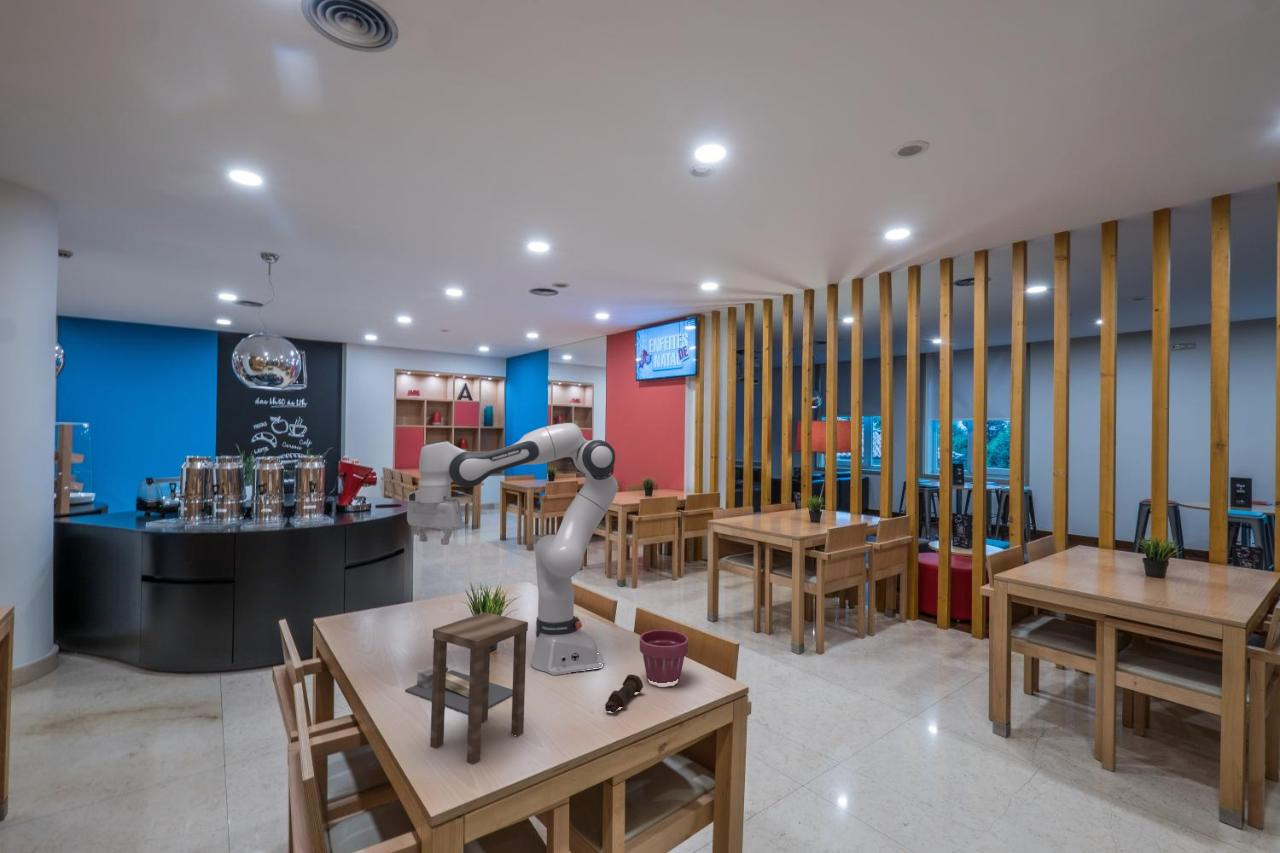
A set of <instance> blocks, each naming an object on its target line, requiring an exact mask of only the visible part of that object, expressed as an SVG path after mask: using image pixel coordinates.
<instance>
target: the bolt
mask: <svg viewBox="0 0 1280 853" xmlns="http://www.w3.org/2000/svg"><path fill="white" fill-rule="evenodd" d="M643 684H644V683H643V681H642V679H641V677H639V676H638V675H635V674H628V675H627V676H626V677H625V680H624V681H623V682H622V687H621V688H619V689H618V690H615V689H614V690H613V691H612V692H611V694H610V695H609V696H608V699H607V701H606V703H605V704H604V708H605V712H607V711H611V712H615V711H616V710H617V709H618V708H619V707H623V706H624V705H625V706H626V704H627V703H628V700H629V699H630V698H631V696H633V695H632V694H634V693H635V692H640V693H641V691H642V690H643V688H644V685H643ZM625 706H624V707H625ZM617 711H618V710H617ZM617 711H616V712H617ZM616 712H615V713H616Z"/></svg>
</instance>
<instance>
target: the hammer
mask: <svg viewBox="0 0 1280 853" xmlns="http://www.w3.org/2000/svg"><path fill="white" fill-rule="evenodd" d="M448 671H449V668H448V667H447V666H446V686H445V687H446V688H448V689H450V690H452V691H455V692H457V693H459V694H461V695H464V696H466V697H468V698H469V682H468V681H466V680H463V679H461V678H459V677H456V676H454V675H452V674H449V673H448ZM416 677H417V678H416V685H419V686H421V687H423V688H425V689H428V688H430V687H432V681H433V665H432V666H429V667H427V668H424V669H421V670H418V671H417V676H416Z"/></svg>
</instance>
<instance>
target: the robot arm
mask: <svg viewBox="0 0 1280 853" xmlns="http://www.w3.org/2000/svg"><path fill="white" fill-rule="evenodd" d="M564 458H568V460H569V461H570V462H571V464H572V466H573V468H574V469H576V470H577V471H578V472H579V473H582V474H585V480H584V483H583V484H582V485H583V486H582V487H581V489H580V490H579V491H578V492H577V494H576V496H575V497H574V498H573V499H572V501H571V503H570V505H568V507H567V509H566V511H565V512H564V513H563V516H562V521H561V524H560V525H559V528H558V530H557V532H556V534H547V535H544V536H542V537H541V538H539V539H538V541H536V544H535V547H534V555H535V568H536V580H537V590H538V600H537V601H538V602H537V605H538V606H537V617H536V621H535V636H536V640H535V647H534V651H533V656H532V660H531V663H530V664H531V667H532V668H534V669H535V670H537V671H542V672H545V673H548V674H550V675H551V676H556V675H565V674H567V673H568V674H572V673H571V672H576V671H582V670H587V669H593V668H599V667H601V666H602V664H603V662H604V663H605V658H604V655H602V653H600V652H599V651H598V648H597V644H596V642H595V640H594V639H593V638H592V637H591V636H590V635H589V634H588V633H586V632H585V631H584V630H582V627H583V624H582V621H581V620H580V618H579V617H578V616H575V615H574V612H575V611H574V610H575V609H574V608H575V607H574V606H575V590H574V586H573V580H572V577H573V576H575V575H577V574H578V573H579V572H580V570H581V569H582V566H583V561H584V560H583V558H584V556H585V554H586V550H587V548H588V546H589V543H590V541H591V540H592V539H591V538H592V536H593V535H594V532H595V531H596V529H597V527H598V526H599V524H600V523H601V521H602V519H603V518H604V517H605V514H607V512H608V510H609V509H610V507H611V505H612V503H613V502H614V499H615V497H616V494H617V492H618V489H619V483H618V480H616V479H617V478H615V477H614V476H613V474H614V470H615V462H616V452H615V449H614V448H613V446H612V445H611V444H610V443H609V442H607V441H605V440H602V439H592V440H591V439H590V440H588V439H586V438H585V437H584V435H583V431H582V430H581V428H580V426H578V425H577V424H576V423H573V422H565V423H555V424H550V425H547V426H543V427H540V428H537V429H535V430H532V431H530V432H527V433H525V434H524V435H523V436H522V437H521V438H520V439H519V440H518V441H517V442H515V443H512V444H511V445H509V446H506V447H505V446H504V447H502V448H498V449H495V450H492V451H488V452H481V453H480V452H479V453H478V452H473V451H468V450H465V449H462V448H460V447H458V446H456V445H454V444H452V443H451V442H449V441H448V440H446V439H445V440H437V441H431V442H428V443H425V444H424V445H423V446H422V447H421V450H420V452H419V461H418V462H419V465H418V466H419V467H418V470H419V476H420V480H419V484H418V489H416V490H415V491H412V492H409V493H408V494H407V496H406V497H407V498H406V500H407V501H408V503H407V506H406V520H407V523H408V525H409V526H412V527H413V526H414V527H416V532H417V534H418V536H419V538H418V540H419V542H422V543H425V542H428V535H427V534H426V531H425V530H426V528H430V529H437V530H438V529H439V530H443V532H442V533H443V534H444V535H443V537H442V538H440V544H441V545H443V546H448V545H450V538H451V536H452V534H453V531H457V530H461V528H462V527H463V514H462V508H461V503H460V501H459V500H458V499H457V497H452V496H451V495H452V494H451V493H452V492H451V490H452V489H451V488H452V487H451V486H452V482H454V483H455V485H457V486H460V487H462V488H466V489H469V488H474V487H476V486H478V485H480V484H481V483H482V482H484V480H486V479H487V478H488V477H490V476H491V475H493V474H496V473H499V472H502V471H505V470H508V469H512V468H515V467H518V466H524V465H525V466H526V465H540V464H546V463H550V462H553V461H556V460H560V459H564ZM597 653H600V654H597ZM599 663H601V664H599ZM576 673H577V672H576Z"/></svg>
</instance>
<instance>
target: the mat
mask: <svg viewBox="0 0 1280 853" xmlns="http://www.w3.org/2000/svg"><path fill="white" fill-rule="evenodd" d="M448 673H449V674H452V675H454V676H456V677H459V678H461V679H463V680H466V681H468V682H469V677H470V674H469V675H468V674H465V673H462V672H459V671H455V670H453V669H451V670H448ZM404 689H405V688H404ZM404 692H405V693H407V692H408V694H410V693H411V695H413V696H415V695H416V696H415V697H418V696H419V698H421V699H424V700H426V699H427V701H429V700H430V701H429V702H432V687H430V688H428V689H425V688H423V687H421V686H419V685H417V684H415V685H413V686H411V687H408V688H406V689H405V690H404ZM512 692H513V688H509V687H506V686H503V685H501V684H497V683H494V682H490V681H489V698H488V710H489V709H491V708H493V707H495V706H497V705H499V704H500V703H502V702H504V701H506V700H508V699H510V698H511V697H510V696H512ZM509 697H510V698H509ZM507 698H508V699H507ZM505 699H506V700H505ZM503 700H504V701H503ZM498 703H499V704H498ZM496 704H497V705H496ZM445 708H448V709H451V710H453V711H456V712H459V713H462V714H465V715H466V716H468V708H469V698H468V697H466V696H464V695H461V694H459V693H457V692H455V691H452V690H450V689H448V688H446V687H445Z"/></svg>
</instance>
